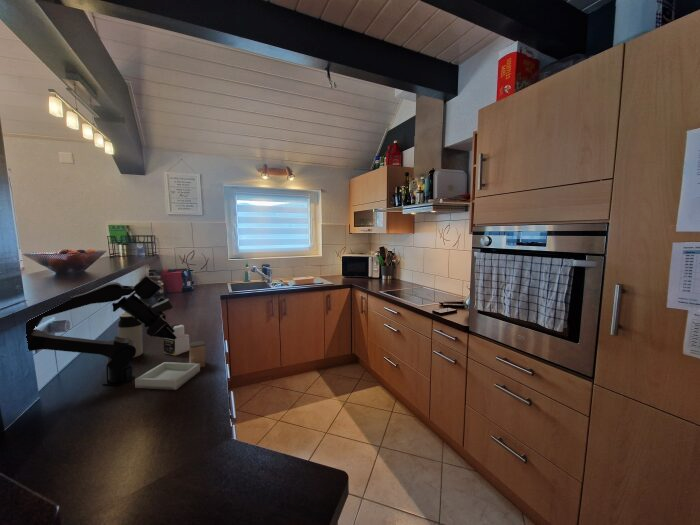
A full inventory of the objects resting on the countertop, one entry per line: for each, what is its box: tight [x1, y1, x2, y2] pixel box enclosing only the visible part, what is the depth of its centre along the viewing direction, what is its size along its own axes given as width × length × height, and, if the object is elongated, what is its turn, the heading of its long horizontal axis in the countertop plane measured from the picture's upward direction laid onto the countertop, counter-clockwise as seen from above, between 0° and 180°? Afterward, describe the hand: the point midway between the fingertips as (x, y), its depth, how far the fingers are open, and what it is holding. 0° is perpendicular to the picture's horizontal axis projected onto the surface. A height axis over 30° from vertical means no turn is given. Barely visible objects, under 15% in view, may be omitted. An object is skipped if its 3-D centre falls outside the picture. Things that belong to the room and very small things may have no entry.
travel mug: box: [117, 312, 144, 359], centre depth 122 cm, size 8×8×18 cm
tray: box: [134, 361, 201, 391], centre depth 102 cm, size 14×14×3 cm
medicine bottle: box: [163, 323, 190, 356], centre depth 128 cm, size 7×7×12 cm
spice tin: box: [188, 340, 206, 368], centre depth 114 cm, size 5×5×9 cm
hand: (174, 335), depth 109 cm, fingers open, 9 cm apart
